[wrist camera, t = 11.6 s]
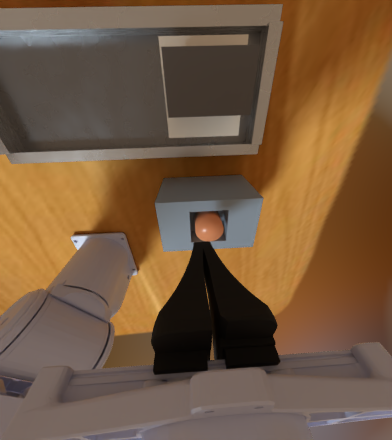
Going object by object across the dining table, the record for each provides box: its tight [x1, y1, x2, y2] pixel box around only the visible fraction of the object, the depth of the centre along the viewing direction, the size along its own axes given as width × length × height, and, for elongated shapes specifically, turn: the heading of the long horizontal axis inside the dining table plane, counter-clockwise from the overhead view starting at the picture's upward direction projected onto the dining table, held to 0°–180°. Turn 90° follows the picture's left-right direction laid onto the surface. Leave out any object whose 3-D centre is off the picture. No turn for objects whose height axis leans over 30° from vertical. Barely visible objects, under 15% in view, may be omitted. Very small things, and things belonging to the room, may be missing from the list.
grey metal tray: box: [0, 4, 283, 164], centre depth 15 cm, size 10×25×3 cm, turn 92°
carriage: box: [158, 34, 260, 138], centre depth 12 cm, size 6×6×7 cm
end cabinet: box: [155, 175, 263, 252], centre depth 19 cm, size 6×10×7 cm, turn 92°
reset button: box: [194, 211, 224, 241], centre depth 17 cm, size 3×3×2 cm
